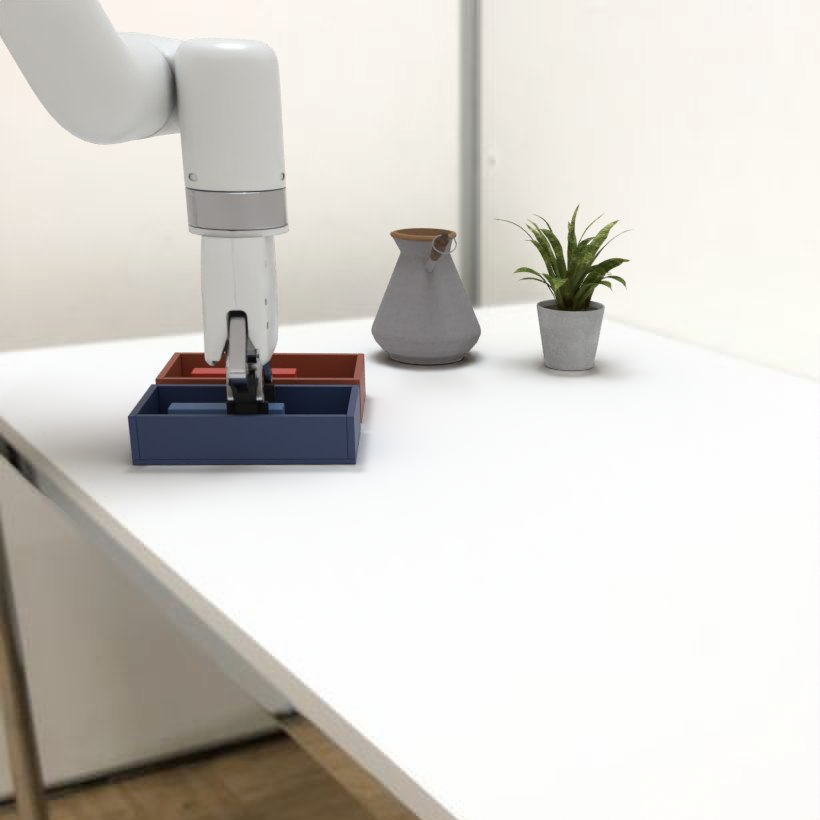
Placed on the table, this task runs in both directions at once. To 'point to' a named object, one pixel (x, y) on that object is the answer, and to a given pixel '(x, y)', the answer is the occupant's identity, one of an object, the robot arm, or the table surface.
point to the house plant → (571, 296)
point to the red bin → (307, 364)
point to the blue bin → (247, 427)
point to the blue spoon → (215, 408)
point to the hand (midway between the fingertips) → (254, 438)
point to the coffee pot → (425, 302)
